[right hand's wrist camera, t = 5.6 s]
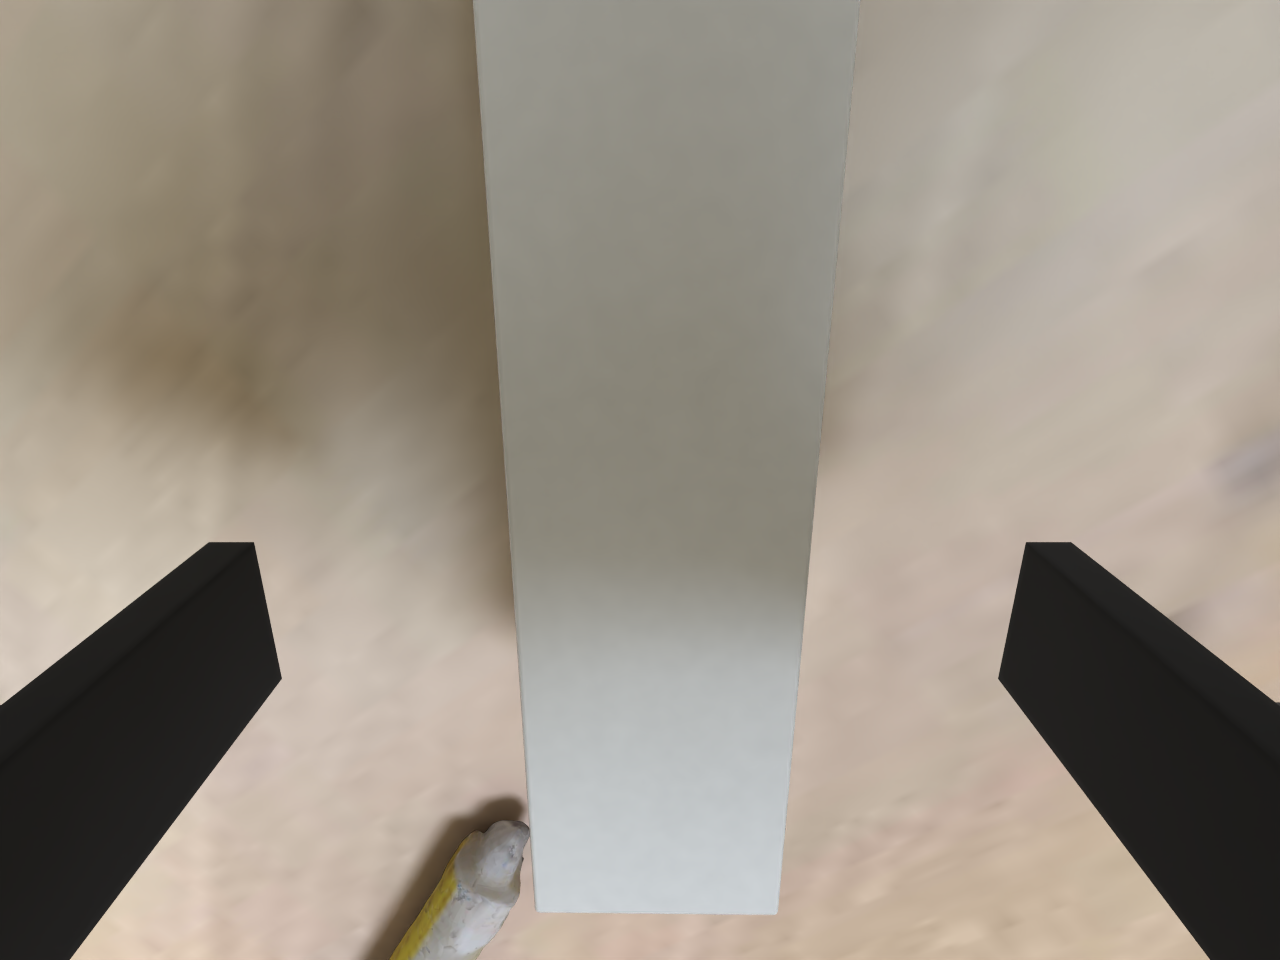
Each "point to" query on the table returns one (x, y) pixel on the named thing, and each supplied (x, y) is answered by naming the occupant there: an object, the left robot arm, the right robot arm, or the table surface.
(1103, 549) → the table surface
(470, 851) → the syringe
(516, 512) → the bar
